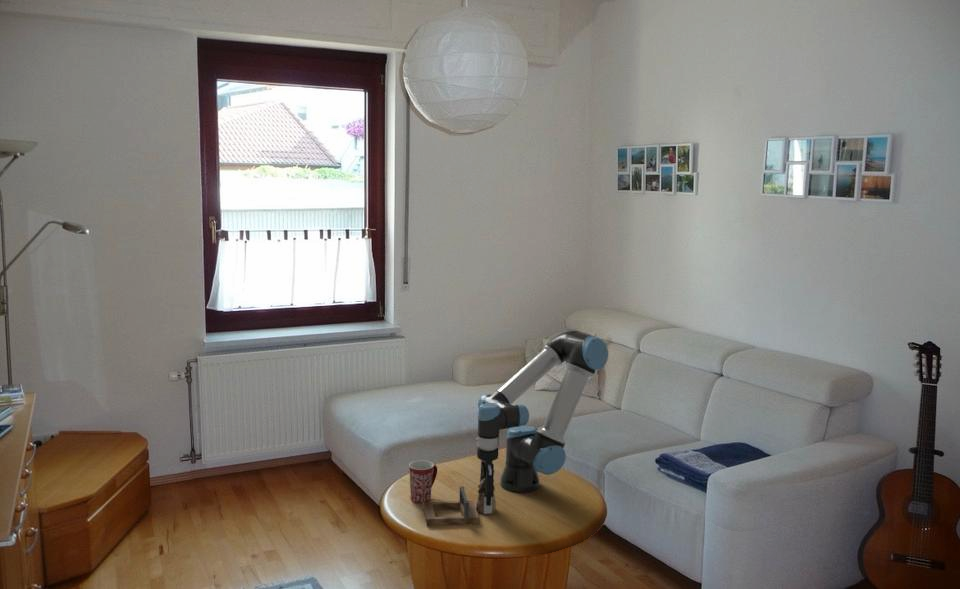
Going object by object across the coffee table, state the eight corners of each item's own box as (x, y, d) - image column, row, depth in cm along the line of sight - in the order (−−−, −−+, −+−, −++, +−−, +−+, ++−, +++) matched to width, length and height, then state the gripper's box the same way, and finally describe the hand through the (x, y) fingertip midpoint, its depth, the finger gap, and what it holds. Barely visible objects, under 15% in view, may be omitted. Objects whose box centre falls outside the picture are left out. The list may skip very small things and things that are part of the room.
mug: (420, 507, 286) (421, 471, 284) (403, 499, 292) (403, 464, 289) (444, 497, 295) (445, 462, 293) (427, 490, 301) (428, 455, 299)
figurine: (482, 503, 290) (483, 472, 288) (499, 508, 286) (500, 477, 284) (472, 511, 284) (473, 479, 282) (489, 515, 280) (490, 483, 278)
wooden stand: (473, 507, 287) (473, 486, 286) (478, 524, 274) (479, 502, 272) (423, 508, 284) (423, 487, 283) (426, 526, 271) (427, 503, 270)
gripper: (473, 437, 290) (471, 497, 294) (481, 457, 271) (479, 521, 275) (493, 437, 292) (491, 496, 295) (503, 457, 272) (501, 520, 276)
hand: (485, 508), depth 285 cm, fingers closed on figurine, 7 cm apart
